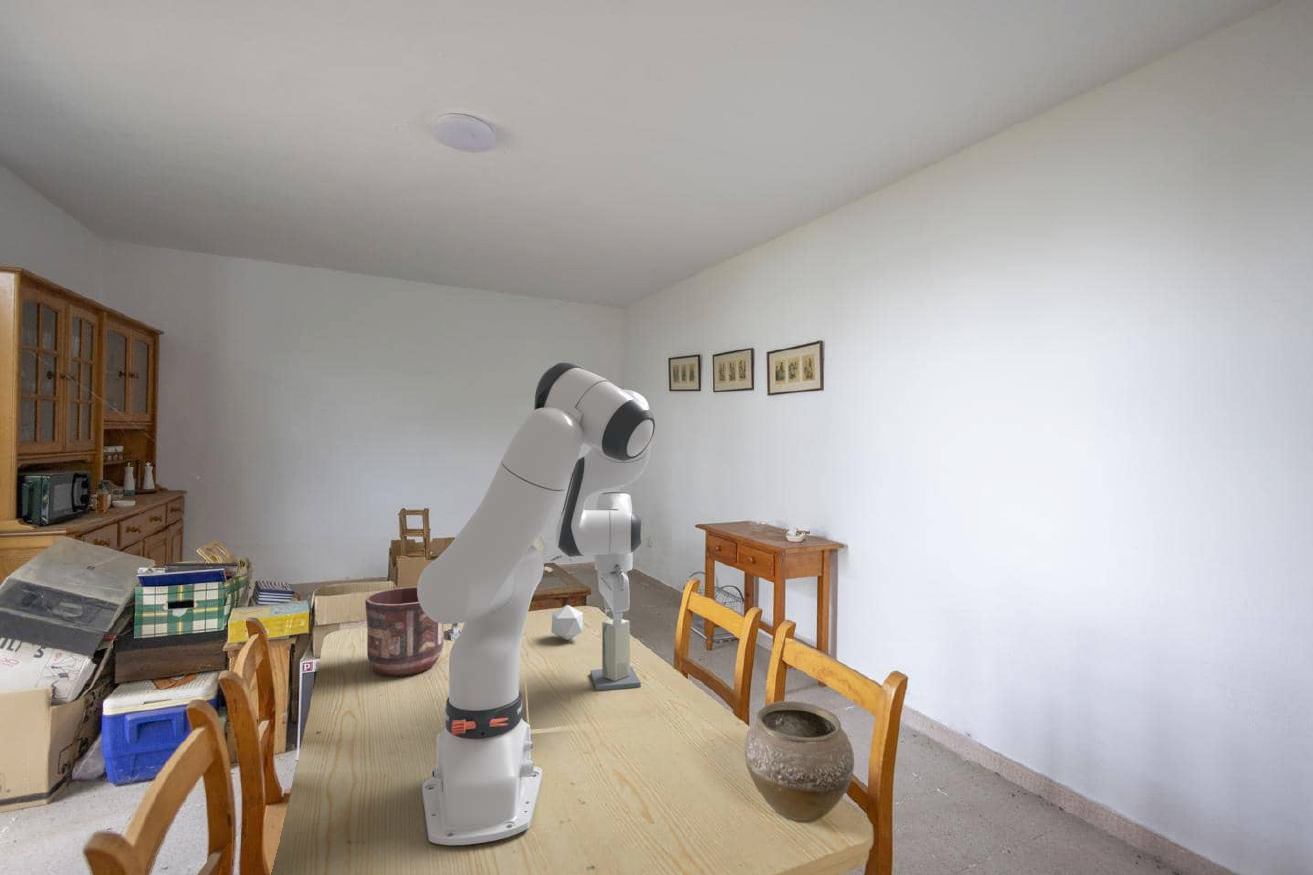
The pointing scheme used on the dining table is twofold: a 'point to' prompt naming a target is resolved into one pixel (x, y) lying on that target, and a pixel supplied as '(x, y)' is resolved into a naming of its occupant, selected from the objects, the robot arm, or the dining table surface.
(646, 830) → the dining table surface
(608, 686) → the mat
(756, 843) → the dining table surface
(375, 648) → the pottery
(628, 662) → the box
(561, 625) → the die
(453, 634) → the house of cards
